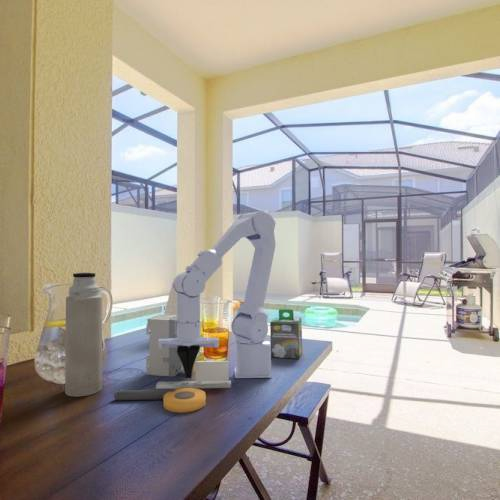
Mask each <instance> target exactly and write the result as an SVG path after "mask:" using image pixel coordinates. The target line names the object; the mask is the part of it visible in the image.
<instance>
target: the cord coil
mask: <svg viewBox="0 0 500 500" xmlns="http://www.w3.org/2000/svg"><path fill="white" fill-rule="evenodd" d="M175 390H176V391H174V392H168V393H166V394H165V395H164V397H163V399H162V400H163V401H162V402H163V408H164V409H165V410H167V411H168V412H171V413H178V414H179V413H191V412H195V411H198V410H200V409H203V407H205V406H206V404H207V401H206V400H207V395H206V392H205V391H204V390H202V389H201V388H182V389H175Z"/></svg>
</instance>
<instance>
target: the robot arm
mask: <svg viewBox="0 0 500 500" xmlns="http://www.w3.org/2000/svg"><path fill="white" fill-rule="evenodd" d="M275 227H276V221H275V219H274V218H273V216H272V215H271V213H270V212H268V211H267V210H265V209H261V210H258V211H254V212H248V213H247V212H246V213H245V212H243V213H242V214H240V215H239V216H238V217H237V218H236V219H235V220H233V222H232V224H231V225H230V226H229V228H228V229H227V231H225V233H224V234H223V235H222V236H221V237H220V239H219V240H218V241H217V242H216V243H215V244H214V246H213V247H212V248H211V249H204V250H201V251H199V252H198V253H197V257H196V259H195V260H194V261H193V262H192V263H190V265H187V266H185V269H184V270H185V271H184V272H180V273H179V274H177V275H176V277H175V278H174V279H175V282H174V283H173V282H172V284H173V288H174V290H175V292H176V293H177V338H167V339H159V340H158V348H176V347H178V349H177V354H178V356H179V358H180V360H181V362H182V365H183V368H184V369H183V370H184V376H185V379H192V377H193V370H194V365H195V363H196V359H197V358H198V357H197V354H198V352H199V349H200V350H201V348H219V346H220V345H219V342H220V340H219V337H204V336H202V335H201V334H202V332H201V321H200V295H201V294H202V293H204V291H205V289H206V283H207V282H208V281H209V279H210V278H212V276H213V275H214V274H215V273H216V272H217V271H218V269H219V268H220V267H221V266H222V263H223V262H222V258H223V257H224V256H225V255H226V254H227V253H228V252H229V251H230V250H231V249H232V248H233V247H234V246H235V245H236V244H237V243H238V242H239V241H240V240H241V239H242V238H243V239H244V238H245V239H247V240H248V241H249V242H250V243H251V244H252V246H253V247H254V252H253V257H252V261H251V267H250V271H249V275H248V281H247V286H246V292H245V296H244V301H243V304H241V305H240V306H239V307H238V308H237V310H236V314H235V316H234V318H232V320H231V326H230V329H231V332H232V333H233V335H234V336H235V348H236V349H235V364H236V365H235V367H234V379H266V378H267V379H270V378H272V359H271V358H272V357H271V340H265V339H266V337H267V336H268V333H269V326H268V325H269V324H268V318H269V314H268V313H267V312H266V310H265V308H264V306H265V300H266V295H267V291H268V290H267V289H268V285H269V280H270V275H271V269H272V265H273V262H274V261H273V260H274V255H275V252H276V251H275V250H276V238H275ZM201 336H202V337H201ZM189 347H190V348H189ZM196 357H197V358H196Z"/></svg>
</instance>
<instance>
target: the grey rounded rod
mask: <svg viewBox="0 0 500 500" xmlns="http://www.w3.org/2000/svg"><path fill="white" fill-rule="evenodd" d="M174 391H176V389H136V390H135V389H132V390H131V389H129V390H116V391H115V392H114V393H113V399H115V401H139V400H140V401H142V400H143V401H147V400H151V401H152V400H163V397H164V395H165V394H166V393H168V392H174Z"/></svg>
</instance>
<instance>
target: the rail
mask: <svg viewBox="0 0 500 500" xmlns="http://www.w3.org/2000/svg"><path fill="white" fill-rule="evenodd" d="M155 384H156V385H155V390H176V389H182V388H195V389H231V388H232V379H231V380H229V381H216V382H196V380H183V381H182V380H181V381H178V380H176V381H175V380H174V381H168V380H167V381H157V383H155Z"/></svg>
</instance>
